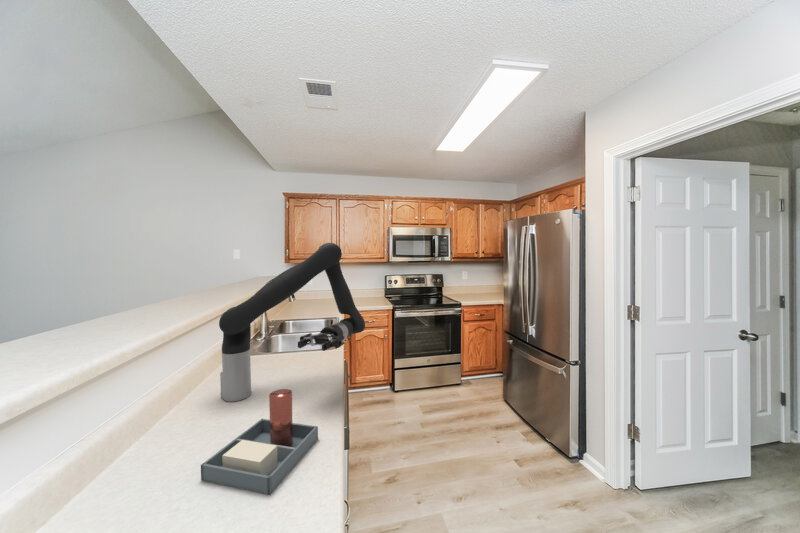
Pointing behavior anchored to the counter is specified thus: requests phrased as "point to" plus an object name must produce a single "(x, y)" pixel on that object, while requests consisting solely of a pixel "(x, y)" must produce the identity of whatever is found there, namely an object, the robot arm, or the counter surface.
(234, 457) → the cream block
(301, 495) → the counter surface
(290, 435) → the copper cylinder
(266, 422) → the tray
